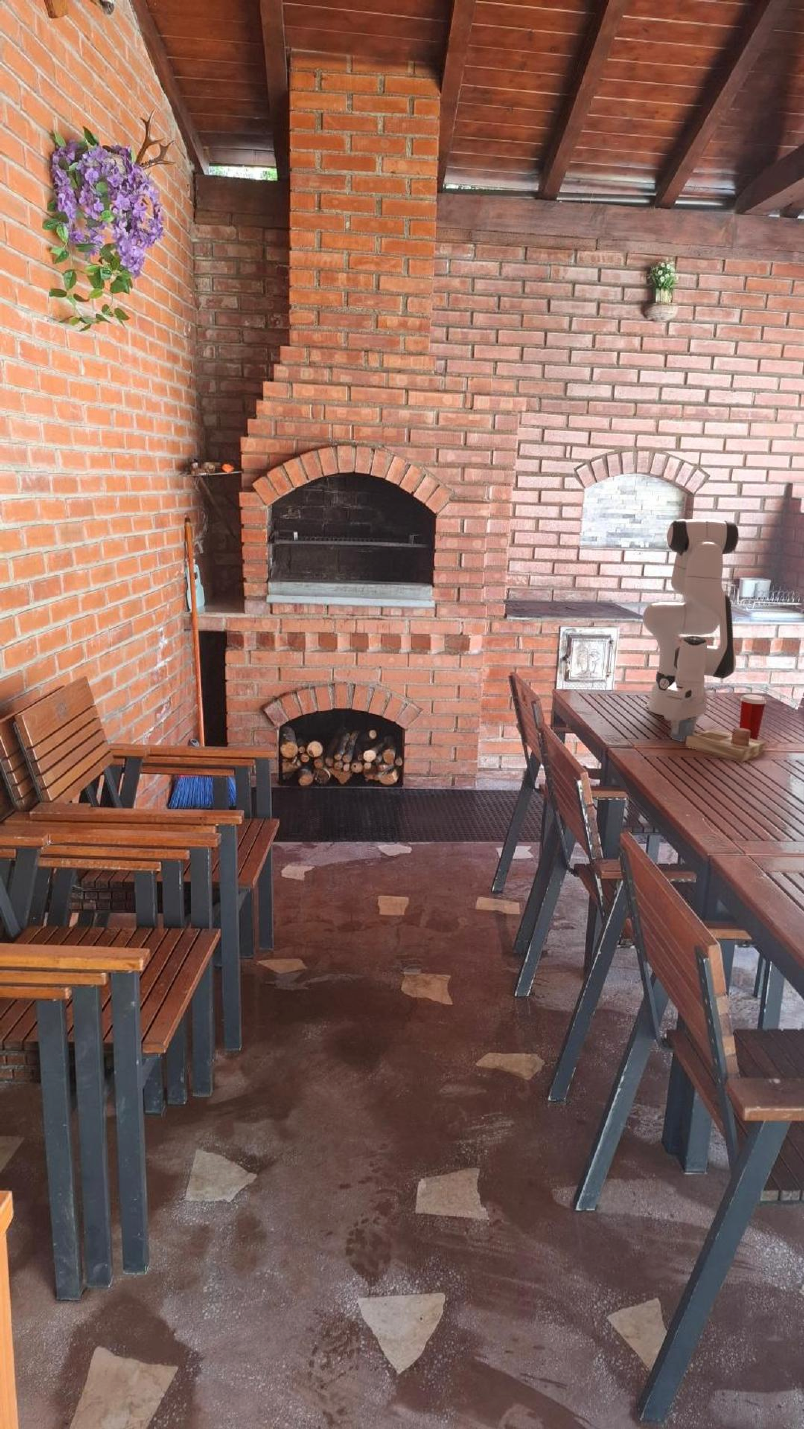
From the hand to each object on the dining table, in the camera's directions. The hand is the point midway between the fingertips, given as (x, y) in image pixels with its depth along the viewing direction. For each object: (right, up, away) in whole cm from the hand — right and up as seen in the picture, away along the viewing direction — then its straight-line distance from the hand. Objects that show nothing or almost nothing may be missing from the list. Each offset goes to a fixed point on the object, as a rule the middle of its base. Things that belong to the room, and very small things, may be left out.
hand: (683, 731), depth 290 cm
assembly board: (+10, -6, -9) cm, 15 cm away
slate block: (0, -3, +1) cm, 3 cm away
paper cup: (+22, -3, +4) cm, 23 cm away
